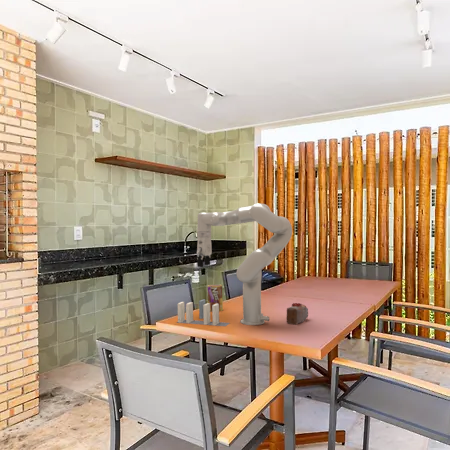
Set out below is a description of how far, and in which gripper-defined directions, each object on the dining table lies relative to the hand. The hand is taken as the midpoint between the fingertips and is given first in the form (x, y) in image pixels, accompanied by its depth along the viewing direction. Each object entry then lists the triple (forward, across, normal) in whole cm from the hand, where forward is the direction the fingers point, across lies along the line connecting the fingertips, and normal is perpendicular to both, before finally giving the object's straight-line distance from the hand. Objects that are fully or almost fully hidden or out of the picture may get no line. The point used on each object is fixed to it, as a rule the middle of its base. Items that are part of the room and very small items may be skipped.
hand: (203, 265), depth 216 cm
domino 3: (+29, -10, -7) cm, 31 cm away
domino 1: (+29, -10, +8) cm, 32 cm away
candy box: (+30, +21, +1) cm, 36 cm away
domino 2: (+29, -10, +3) cm, 31 cm away
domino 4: (+28, -10, -12) cm, 32 cm away
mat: (+29, -10, -4) cm, 31 cm away
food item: (+28, +8, -51) cm, 58 cm away
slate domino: (+29, +1, +1) cm, 29 cm away
